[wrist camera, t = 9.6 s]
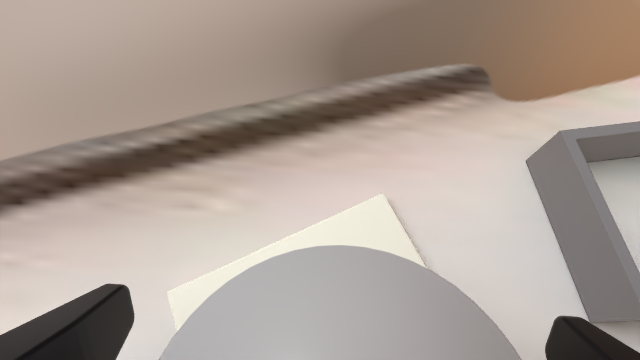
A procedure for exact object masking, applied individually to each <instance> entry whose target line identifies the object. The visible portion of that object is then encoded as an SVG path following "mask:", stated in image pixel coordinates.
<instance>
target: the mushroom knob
mask: <svg viewBox="0 0 640 360" xmlns="http://www.w3.org/2000/svg"><path fill="white" fill-rule="evenodd" d="M159 360H521V358H520V357H519V355H518V353H517V352H516V350H515V349H514V347H513V346H512V345H511V343H510V342H509V341H508V339H507V338H506V337H505V335H504V334H503V333H502V332H501V330H500V329H499V328H498V326H497V325H496V324H495V323H494V322H493V321H492V320H491V319H490V318H489V317H488V315H487V314H486V313H485V312H484V311H483V310H482V309H481V308H480V307H479V306H478V305H477V304H476V303H475V302H474V301H472V300H471V299H470V298H469V297H468V296H466V295H465V294H464V293H463V292H462V291H461V290H459V289H458V288H457V287H456V286H454V285H453V284H451V283H450V282H448V281H447V280H445V279H444V278H442V277H441V276H439V275H438V274H436V273H435V272H433V271H431V270H429V269H427V268H425V267H423V266H421V265H419V264H417V263H415V262H413V261H411V260H409V259H406V258H403V257H400V256H397V255H394V254H392V253H389V252H385V251H380V250H376V249H371V248H367V247H359V246H347V245H329V246H315V247H309V248H304V249H298V250H293V251H290V252H287V253H284V254H281V255H277V256H274V257H271V258H269V259H267V260H265V261H263V262H261V263H258V264H256V265H254V266H252V267H250V268H248V269H247V270H245V271H243V272H242V273H240V274H239V275H237V276H235V277H234V278H232V279H230V280H229V281H228V282H226V283H225V284H224V285H223V286H221V287H220V288H219V289H218V290H216V291H215V292H214V293H213V294H211V295H210V296H209V297H208V298H207V299H206V300H205V301H204V302H203V303H202V304H201V305H200V306H199V307H198V308H197V309H196V310H195V311H194V312H193V313H192V314H191V315H190V316H189V317H188V319H187V320H186V321H185V323H184V324H183V325H182V326H181V328H180V329H179V330H178V331H177V333H176V334H175V335H174V337H173V338H172V339H171V341H170V342H169V344H168V346H167V347H166V349H165V351H164V352H163V354H162V355H161V357H160V359H159Z"/></svg>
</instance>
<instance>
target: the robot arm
mask: <svg viewBox="0 0 640 360" xmlns="http://www.w3.org/2000/svg"><path fill="white" fill-rule="evenodd" d="M133 322H134V310H133V305H132V301H131V296H130V291H129V289H128V287H127V286H125V285H121V284H105V285H103V286H101V287H99V288H97V289H95V290H93V291H91V292H89V293H87V294H84V295H82V296H80V297H78V298H76V299H74V300H72V301H70V302H68V303H66V304H64V305H62V306H60V307H58V308H56V309H54V310H52V311H49V312H47V313H45V314H43V315H41V316H39V317H37V318H35V319H33V320H31V321H29V322H27V323H25V324H23V325H21V326H19V327H17V328H14V329H12V330H10V331H8V332H6V333H4V334H2V335H0V360H116V358H117V356H118V354H119V352H120V350H121V348H122V346H123V344H124V342H125V340H126V338H127V336H128V334H129V332H130V330H131V328H132V325H133ZM545 353H546V358H547V360H640V353H639V352H637V351H635V350H634V349H632V348H630V347H629V346H627V345H625V344H624V343H622V342H621V341H619V340H617V339H616V338H614V337H612V336H611V335H609V334H607V333H606V332H604V331H603V330H601V329H599V328H598V327H596V326H594V325H593V324H591V323H589V322H588V321H586V320H585V319H583V318H580V317H572V316H558V317H557V318H556V319H555V320H554V323H553V326H552V329H551V331H550V334H549V337H548V340H547V343H546V346H545Z"/></svg>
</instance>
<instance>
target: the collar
mask: <svg viewBox="0 0 640 360" xmlns="http://www.w3.org/2000/svg"><path fill="white" fill-rule="evenodd" d="M635 156H640V121H639V122H631V123H622V124H614V125H605V126H597V127H588V128H580V129H571V130H562V131H559V132H558V133H557V134H556V135H555V136H554V137H552V138H551V139H550V140H549V141H548V142H547V143H545V144H544V145H543V146H542V147H541V148H540V149H539V150H537V151H536V152H535V153H534V154H533V155H532V156H531V157H529V158H528V159H527V160H526V163H527V165H528V168H529V170H530V173H531V175H532V178H533V180H534V183H535V185H536V188H537V190H538V193H539V195H540V198H541V200H542V203H543V205H544V208H545V210H546V213H547V215H548V218H549V220H550V223H551V225H552V228H553V230H554V233H555V235H556V238H557V240H558V243H559V245H560V248H561V250H562V253H563V255H564V258H565V260H566V263H567V265H568V268H569V270H570V273H571V275H572V278H573V280H574V283H575V285H576V288H577V290H578V293H579V295H580V298H581V300H582V303H583V305H584V308H585V310H586V313H587V315H588V318H589V320H590V322H617V321H640V273H639V271H638V269H637V267H636V265H635V263H634V260H633V258H632V256H631V254H630V252H629V250H628V248H627V246H626V244H625V242H624V240H623V237H622V235H621V233H620V231H619V229H618V227H617V225H616V223H615V221H614V219H613V217H612V214H611V212H610V210H609V208H608V206H607V204H606V202H605V200H604V198H603V196H602V193H601V191H600V189H599V187H598V185H597V183H596V181H595V179H594V177H593V175H592V173H591V170H590V168H589V166H588V164H587V162H593V161H602V160H610V159H618V158H627V157H635Z"/></svg>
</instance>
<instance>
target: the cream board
mask: <svg viewBox="0 0 640 360" xmlns="http://www.w3.org/2000/svg"><path fill="white" fill-rule="evenodd" d="M329 245H347V246H359V247H367V248H371V249H376V250H380V251H385V252H389V253H392V254H394V255H397V256H400V257H403V258H406V259H409V260H411V261H413V262H415V263H417V264H419V265H421V266H423V267H425V268H426V266H425V264H424V263H423V261H422V259H421V257H420V256H419V254H418V252H417V251H416V249H415V247H414V245H413V244H412V242H411V240H410V239H409V237H408V235H407V234H406V232H405V230H404V228H403V227H402V225H401V223H400V222H399V220H398V218H397V216H396V215H395V213H394V211H393V210H392V208H391V206H390V204H389V203H388V201H387V199H386V198H385V196H384V194H383V193H381V194H379V195H377V196H375V197H373V198H371V199H368V200H366V201H364V202H362V203H360V204H358V205H355V206H353V207H351V208H349V209H347V210H344V211H342V212H340V213H338V214H336V215H334V216H331V217H329V218H327V219H325V220H323V221H320V222H318V223H316V224H314V225H312V226H310V227H307V228H305V229H303V230H301V231H299V232H296V233H294V234H292V235H290V236H288V237H286V238H283V239H281V240H279V241H277V242H275V243H273V244H270V245H268V246H266V247H264V248H262V249H259V250H257V251H255V252H253V253H251V254H249V255H246V256H244V257H242V258H240V259H238V260H235V261H233V262H231V263H229V264H227V265H225V266H222V267H220V268H218V269H216V270H214V271H212V272H209V273H207V274H205V275H203V276H201V277H198V278H196V279H194V280H192V281H190V282H188V283H185V284H183V285H181V286H179V287H177V288H174V289H172V290H170V291H168V292H166V293H167V296H168V300H169V304H170V307H171V311H172V315H173V319H174V322H175V326H176V330H177V331H178V330H179V329H180V328H181V326H182V325H183V324H184V323H185V321H186V320H187V319H188V317H189V316H190V315H191V314H192V313H193V312H194V311H195V310H196V309H197V308H198V307H199V306H200V305H201V304H202V303H203V302H204V301H205V300H206V299H207V298H208V297H209V296H210V295H211V294H213V293H214V292H215V291H216V290H218V289H219V288H220V287H221V286H223V285H224V284H225V283H226V282H228V281H229V280H230V279H232V278H234V277H235V276H237V275H239V274H240V273H242V272H243V271H245V270H247V269H248V268H250V267H252V266H254V265H256V264H258V263H261V262H263V261H265V260H267V259H269V258H271V257H274V256H277V255H281V254H284V253H287V252H290V251H293V250H298V249H304V248H309V247H315V246H329Z"/></svg>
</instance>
